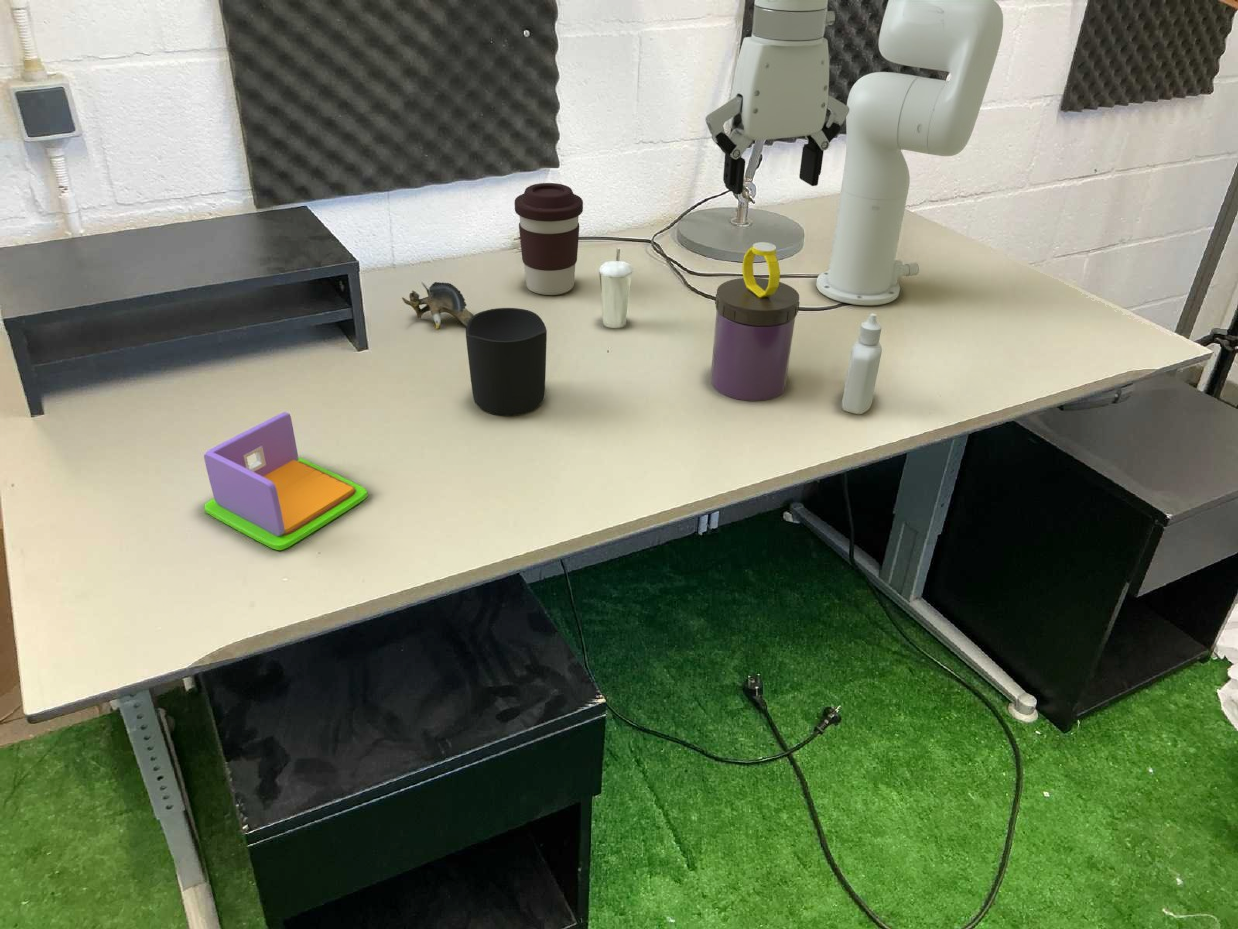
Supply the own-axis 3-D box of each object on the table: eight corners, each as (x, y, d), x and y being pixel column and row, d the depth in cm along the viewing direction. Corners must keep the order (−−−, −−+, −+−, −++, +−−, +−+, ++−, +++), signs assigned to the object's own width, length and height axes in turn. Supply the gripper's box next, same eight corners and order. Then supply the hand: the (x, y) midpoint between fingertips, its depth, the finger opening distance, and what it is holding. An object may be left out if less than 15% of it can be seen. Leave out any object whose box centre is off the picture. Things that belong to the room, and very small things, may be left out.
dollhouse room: (199, 510, 97) (184, 453, 93) (294, 458, 105) (284, 404, 101) (279, 554, 91) (267, 495, 87) (373, 495, 100) (365, 439, 96)
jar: (763, 361, 128) (773, 278, 121) (799, 394, 120) (812, 308, 114) (698, 371, 125) (704, 287, 118) (730, 406, 117) (739, 318, 111)
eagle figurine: (402, 327, 131) (465, 321, 129) (399, 275, 131) (462, 268, 129) (424, 335, 138) (484, 329, 136) (421, 286, 138) (481, 279, 137)
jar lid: (773, 288, 122) (774, 273, 121) (812, 320, 115) (815, 304, 113) (701, 297, 119) (703, 282, 118) (737, 330, 112) (739, 314, 110)
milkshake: (632, 315, 139) (634, 249, 133) (629, 331, 134) (631, 263, 129) (601, 313, 139) (602, 247, 134) (596, 329, 135) (597, 261, 129)
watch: (735, 285, 118) (739, 238, 114) (754, 282, 119) (759, 235, 115) (762, 304, 113) (768, 256, 110) (782, 300, 114) (788, 252, 111)
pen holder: (562, 394, 119) (562, 319, 113) (518, 426, 112) (515, 349, 106) (501, 374, 123) (497, 301, 117) (454, 404, 116) (448, 329, 110)
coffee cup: (570, 271, 152) (570, 176, 144) (591, 295, 144) (592, 196, 136) (509, 278, 149) (506, 182, 141) (528, 303, 141) (525, 203, 133)
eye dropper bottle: (827, 403, 119) (842, 313, 112) (859, 391, 121) (875, 302, 115) (853, 418, 116) (870, 326, 109) (885, 405, 118) (904, 315, 112)
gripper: (840, 15, 106) (820, 170, 116) (698, 22, 101) (689, 184, 111) (878, 27, 101) (853, 189, 110) (730, 35, 95) (717, 204, 105)
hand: (771, 186), depth 110 cm, fingers open, 9 cm apart
